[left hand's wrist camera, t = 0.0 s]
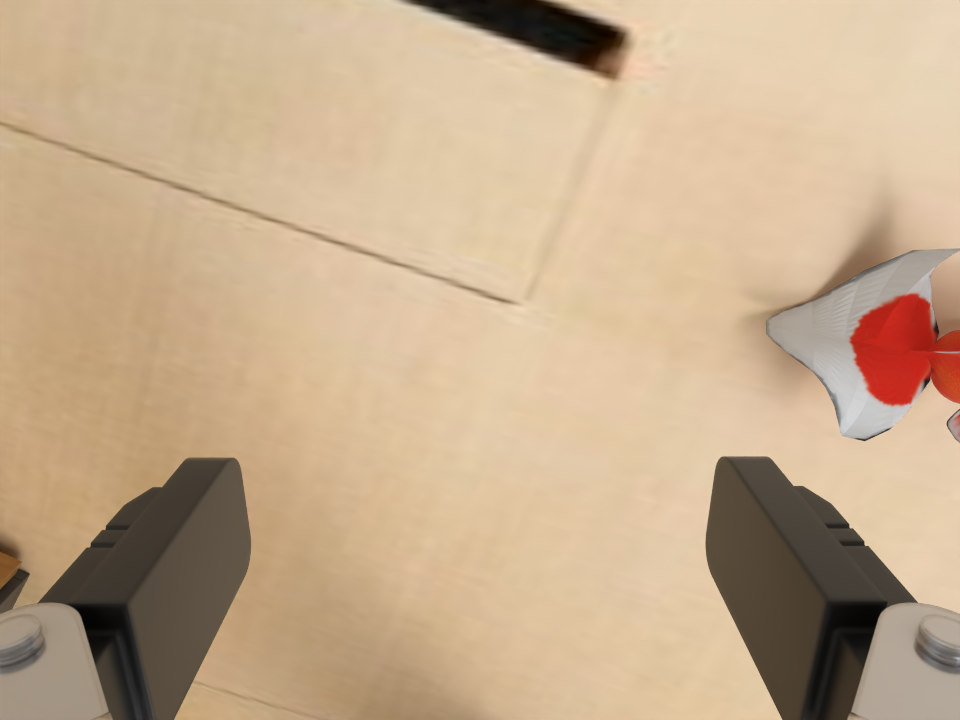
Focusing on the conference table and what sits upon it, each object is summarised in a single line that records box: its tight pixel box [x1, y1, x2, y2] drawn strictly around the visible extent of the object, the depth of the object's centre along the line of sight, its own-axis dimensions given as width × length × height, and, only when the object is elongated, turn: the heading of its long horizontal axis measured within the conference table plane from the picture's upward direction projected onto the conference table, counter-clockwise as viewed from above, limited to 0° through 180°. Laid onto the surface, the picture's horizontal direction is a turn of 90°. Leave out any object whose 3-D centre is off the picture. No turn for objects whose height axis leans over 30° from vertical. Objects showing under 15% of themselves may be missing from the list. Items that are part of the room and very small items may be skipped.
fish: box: [766, 249, 960, 442], centre depth 38 cm, size 11×16×10 cm
